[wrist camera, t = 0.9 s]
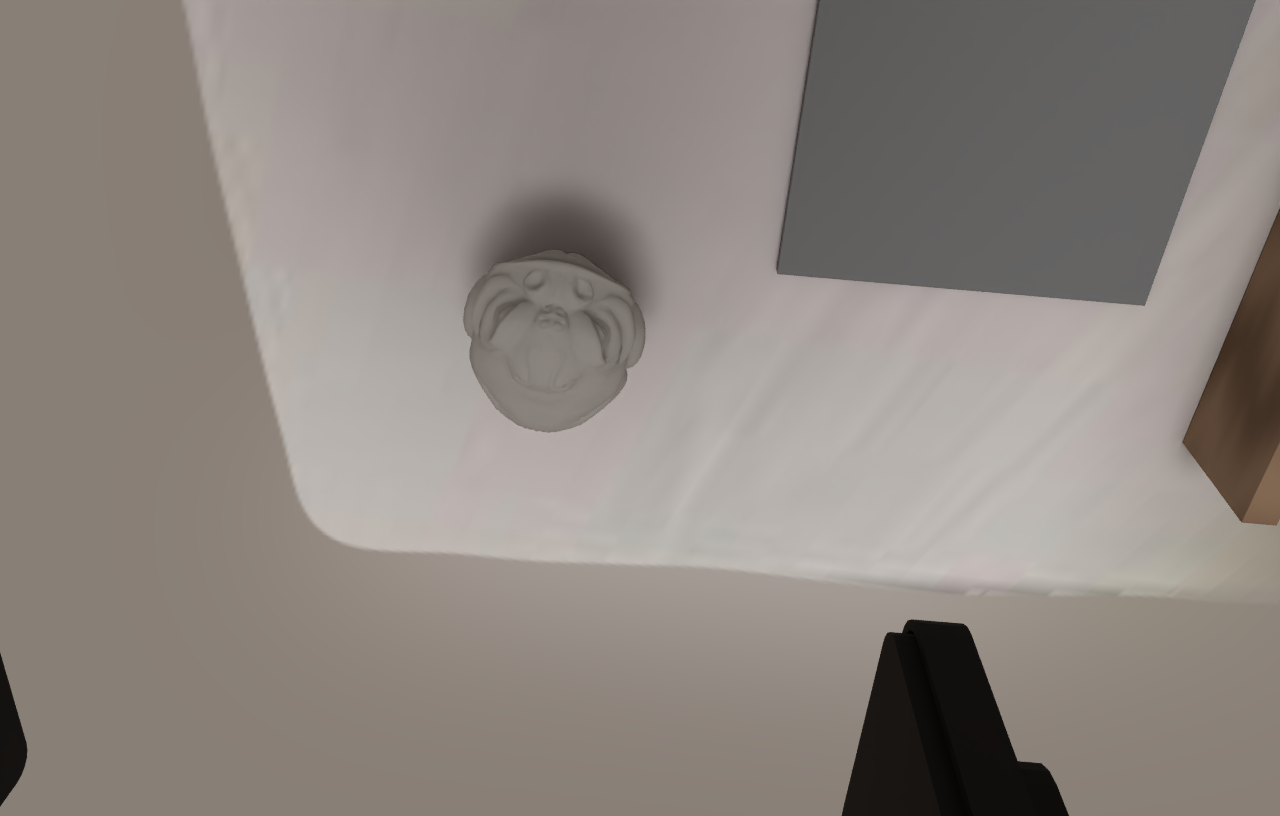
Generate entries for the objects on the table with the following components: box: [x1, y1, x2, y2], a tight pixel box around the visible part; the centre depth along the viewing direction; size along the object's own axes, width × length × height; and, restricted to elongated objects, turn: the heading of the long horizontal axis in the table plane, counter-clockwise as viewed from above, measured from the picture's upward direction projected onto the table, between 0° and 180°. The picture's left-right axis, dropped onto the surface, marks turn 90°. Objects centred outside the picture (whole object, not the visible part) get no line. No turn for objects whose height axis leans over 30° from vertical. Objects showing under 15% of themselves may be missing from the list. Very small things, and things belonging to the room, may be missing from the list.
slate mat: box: [777, 0, 1256, 306], centre depth 33 cm, size 13×13×1 cm
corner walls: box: [1183, 210, 1280, 525], centre depth 32 cm, size 23×22×5 cm
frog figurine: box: [463, 249, 645, 432], centre depth 35 cm, size 6×7×7 cm
